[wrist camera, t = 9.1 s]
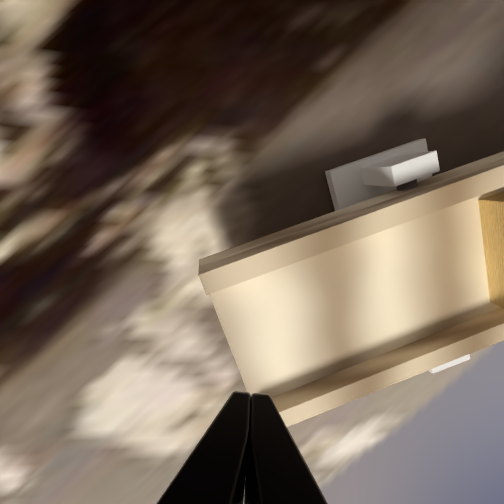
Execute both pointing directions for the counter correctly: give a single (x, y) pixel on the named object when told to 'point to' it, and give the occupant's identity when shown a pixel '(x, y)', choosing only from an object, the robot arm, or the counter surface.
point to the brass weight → (493, 244)
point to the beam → (361, 293)
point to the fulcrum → (384, 181)
